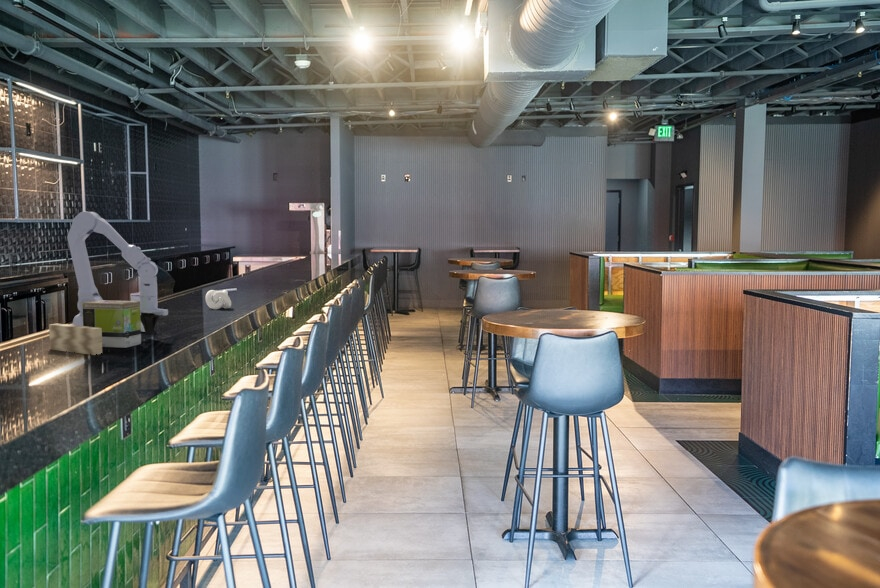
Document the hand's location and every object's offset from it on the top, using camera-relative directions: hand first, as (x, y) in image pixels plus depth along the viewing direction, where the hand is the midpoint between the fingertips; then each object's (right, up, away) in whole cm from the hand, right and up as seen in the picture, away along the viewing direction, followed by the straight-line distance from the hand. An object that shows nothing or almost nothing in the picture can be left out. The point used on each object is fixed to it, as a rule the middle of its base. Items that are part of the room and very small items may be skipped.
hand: (149, 334), depth 254 cm
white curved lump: (-3, +7, +94) cm, 94 cm away
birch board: (-13, -4, -26) cm, 30 cm away
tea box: (-7, -3, -14) cm, 16 cm away
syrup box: (-11, 0, +20) cm, 23 cm away
